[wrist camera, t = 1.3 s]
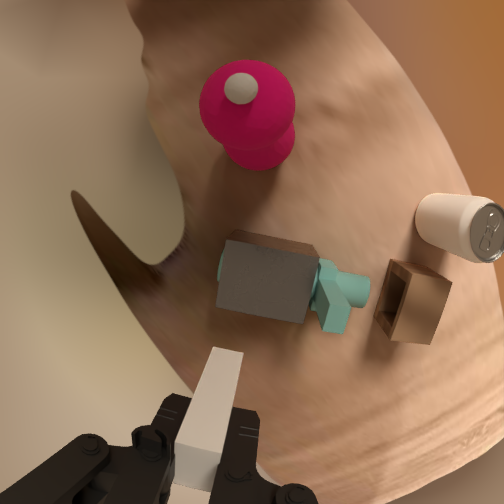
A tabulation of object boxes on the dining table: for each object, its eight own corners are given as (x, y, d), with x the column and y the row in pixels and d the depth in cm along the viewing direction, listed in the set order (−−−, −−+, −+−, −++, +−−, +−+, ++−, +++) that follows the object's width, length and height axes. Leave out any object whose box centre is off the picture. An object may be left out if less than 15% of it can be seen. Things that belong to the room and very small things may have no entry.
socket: (390, 258, 34) (412, 273, 28) (426, 266, 34) (452, 282, 28) (373, 315, 36) (390, 340, 29) (409, 321, 36) (429, 344, 29)
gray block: (235, 229, 35) (226, 239, 29) (312, 244, 35) (319, 257, 28) (225, 286, 37) (215, 306, 30) (299, 300, 36) (303, 324, 30)
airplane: (221, 280, 35) (197, 320, 24) (227, 240, 34) (205, 264, 23) (354, 305, 35) (381, 352, 24) (364, 267, 34) (399, 301, 23)
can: (460, 205, 32) (519, 215, 20) (444, 251, 34) (498, 276, 22) (423, 184, 32) (479, 185, 21) (406, 232, 34) (457, 253, 22)
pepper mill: (283, 180, 34) (291, 168, 14) (221, 163, 34) (153, 136, 14) (299, 120, 32) (325, 42, 13) (238, 105, 32) (194, 19, 13)
